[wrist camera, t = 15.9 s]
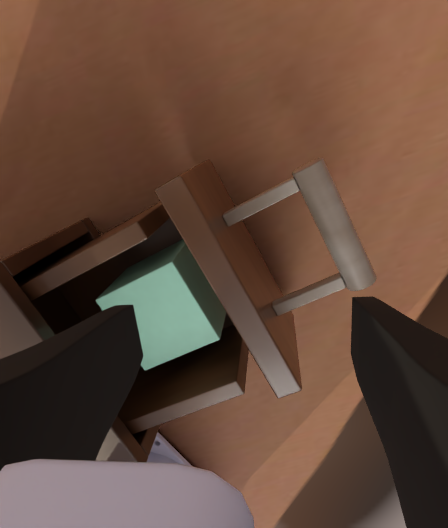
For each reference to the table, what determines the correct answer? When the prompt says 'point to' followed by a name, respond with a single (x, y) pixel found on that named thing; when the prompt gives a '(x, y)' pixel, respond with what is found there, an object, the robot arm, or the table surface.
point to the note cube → (168, 304)
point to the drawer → (221, 280)
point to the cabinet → (37, 330)
